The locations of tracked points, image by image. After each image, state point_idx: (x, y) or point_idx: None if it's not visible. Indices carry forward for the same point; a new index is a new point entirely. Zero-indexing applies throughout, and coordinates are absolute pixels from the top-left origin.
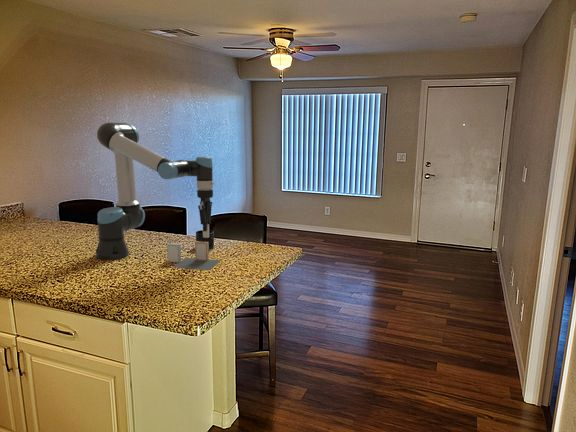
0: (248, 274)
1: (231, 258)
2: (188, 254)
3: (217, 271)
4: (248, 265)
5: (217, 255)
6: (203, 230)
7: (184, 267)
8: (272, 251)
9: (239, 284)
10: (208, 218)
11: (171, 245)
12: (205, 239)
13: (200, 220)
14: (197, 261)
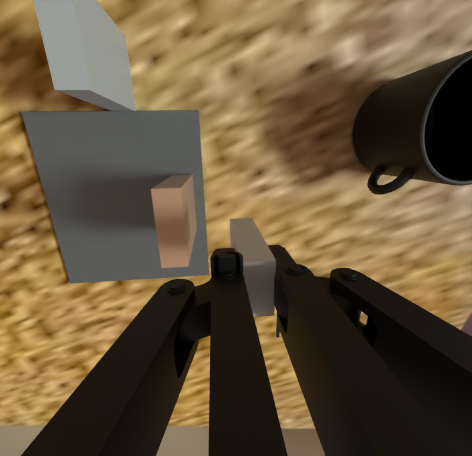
0: None
1: None
2: (274, 88)
3: (89, 302)
4: (195, 362)
5: (287, 228)
6: (214, 252)
7: (50, 172)
8: None
9: (6, 396)
10: (293, 364)
11: (40, 15)
12: (392, 149)
13: (139, 313)
14: None
